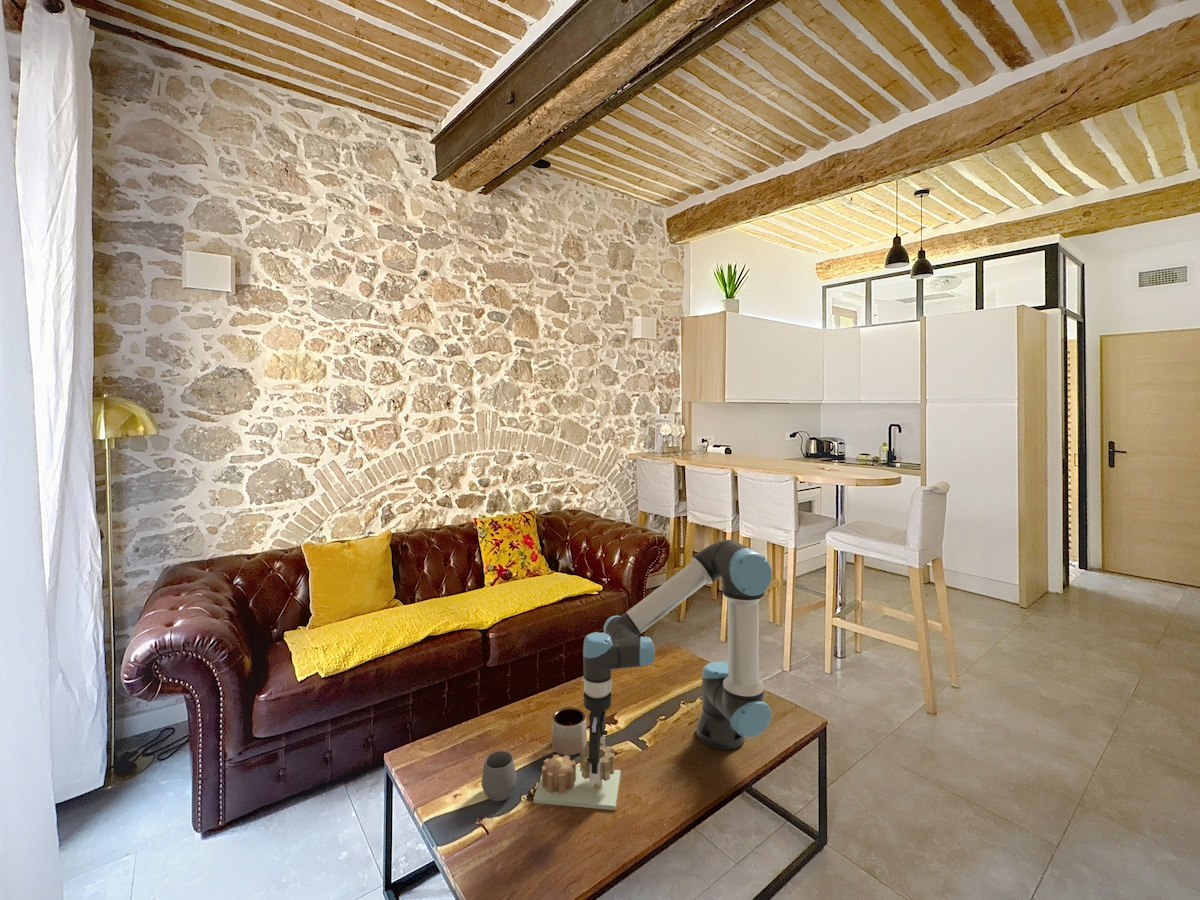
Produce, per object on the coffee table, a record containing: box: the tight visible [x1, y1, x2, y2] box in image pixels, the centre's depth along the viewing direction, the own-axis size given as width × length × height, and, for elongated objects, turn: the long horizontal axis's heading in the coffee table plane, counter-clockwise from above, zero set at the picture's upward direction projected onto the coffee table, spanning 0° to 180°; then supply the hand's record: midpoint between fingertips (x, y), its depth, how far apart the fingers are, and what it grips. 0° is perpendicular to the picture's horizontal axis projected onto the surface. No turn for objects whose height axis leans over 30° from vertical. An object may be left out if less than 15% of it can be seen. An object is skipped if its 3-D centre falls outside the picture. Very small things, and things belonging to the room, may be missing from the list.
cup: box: [481, 750, 517, 802], centre depth 148 cm, size 10×9×10 cm
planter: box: [551, 706, 588, 757], centre depth 169 cm, size 11×11×10 cm
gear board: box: [532, 753, 622, 811], centre depth 150 cm, size 22×14×8 cm, turn 82°
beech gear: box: [579, 743, 615, 781], centre depth 149 cm, size 9×9×5 cm
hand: (597, 769), depth 149 cm, fingers closed on beech gear, 9 cm apart
